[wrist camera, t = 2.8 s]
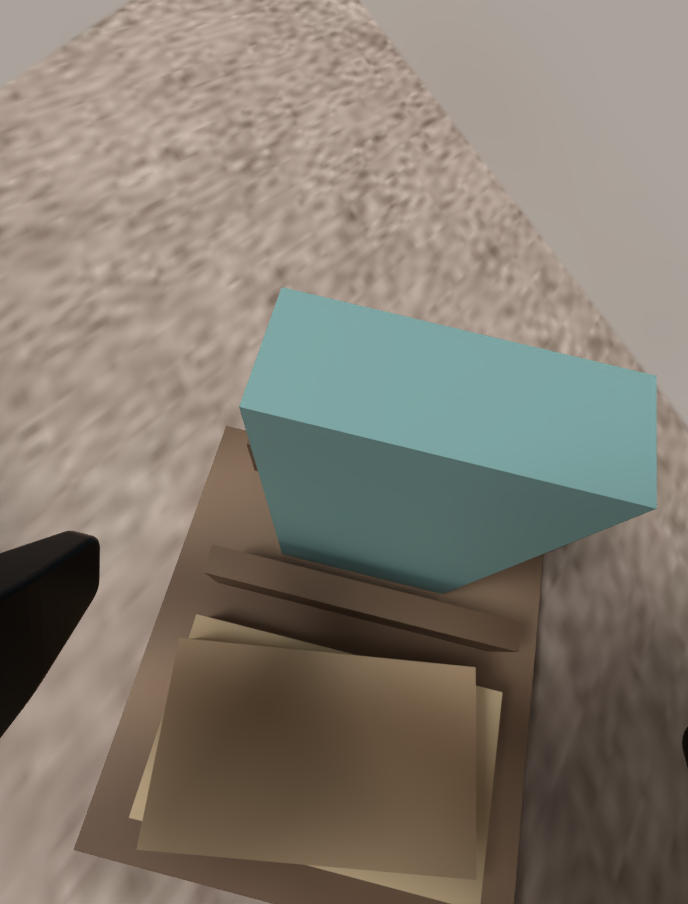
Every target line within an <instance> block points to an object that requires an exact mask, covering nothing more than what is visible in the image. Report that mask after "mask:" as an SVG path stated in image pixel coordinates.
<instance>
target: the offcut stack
mask: <svg viewBox="0 0 688 904" xmlns="http://www.w3.org/2000/svg"><path fill="white" fill-rule="evenodd" d="M502 693H503V692H499V691H495V690H491V689H487V688H484V687H480V686H476V667H468V666H460V665H450V664H440V663H430V662H420V661H410V660H400V659H390V658H380V657H370V656H360V655H354V654H350V653H347V652H343V651H339V650H335V649H331V648H327V647H323V646H319V645H315V644H311V643H307V642H303V641H300V640H296V639H292V638H288V637H284V636H280V635H276V634H272V633H268V632H264V631H260V630H256V629H253V628H249V627H245V626H241V625H237V624H233V623H229V622H225V621H221V620H217V619H213V618H210V617H206V616H202V615H198V614H196V617H195V620H194V623H193V626H192V629H191V632H190V635H189V638H179V642H178V647H177V652H176V657H175V662H174V667H173V672H172V677H171V681H170V686H169V691H168V696H167V701H166V706H165V710H164V713H163V716H162V719H161V722H160V725H159V728H158V731H157V734H156V737H155V740H154V743H153V746H152V749H151V752H150V755H149V758H148V761H147V764H146V767H145V770H144V773H143V776H142V779H141V782H140V785H139V788H138V791H137V794H136V797H135V800H134V803H133V806H132V809H131V812H130V815H129V818H132V819H136V820H139V821H142V825H141V830H140V835H139V840H138V845H137V850H145V851H156V852H167V853H178V854H190V855H201V856H212V857H223V858H235V859H246V860H257V861H268V862H280V863H291V864H302V865H308V866H311V867H315V868H319V869H323V870H326V871H330V872H334V873H338V874H341V875H345V876H349V877H353V878H356V879H360V880H364V881H368V882H371V883H375V884H379V885H383V886H386V887H390V888H394V889H398V890H401V891H405V892H409V893H412V894H416V895H420V896H424V897H427V898H431V899H435V900H439V901H442V902H446V903H450V904H480V903H481V894H482V884H483V875H484V865H485V856H486V846H487V836H488V827H489V817H490V808H491V798H492V789H493V779H494V769H495V760H496V750H497V741H498V731H499V721H500V712H501V702H502Z"/></svg>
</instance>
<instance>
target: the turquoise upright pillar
mask: <svg viewBox="0 0 688 904" xmlns="http://www.w3.org/2000/svg"><path fill="white" fill-rule="evenodd" d="M239 408H240V411H241V415H242V418H243V421H244V425H245V428H246V432H247V435H248V439H249V442H250V446H251V449H252V452H253V456H254V459H255V463H256V466H257V470H258V473H259V476H260V480H261V483H262V487H263V490H264V494H265V497H266V501H267V504H268V507H269V511H270V514H271V518H272V521H273V525H274V528H275V531H276V535H277V538H278V542H279V545H280V549H281V552H282V554H284V555H288V556H292V557H296V558H300V559H304V560H308V561H312V562H316V563H320V564H324V565H328V566H332V567H336V568H340V569H344V570H348V571H352V572H356V573H360V574H364V575H368V576H372V577H376V578H380V579H384V580H388V581H392V582H395V583H399V584H403V585H407V586H411V587H415V588H419V589H423V590H427V591H431V592H435V593H439V594H444V593H446V592H449V591H451V590H454V589H456V588H459V587H461V586H464V585H466V584H469V583H471V582H474V581H476V580H479V579H482V578H484V577H487V576H489V575H492V574H494V573H497V572H499V571H502V570H504V569H507V568H509V567H512V566H514V565H517V564H519V563H522V562H524V561H527V560H529V559H532V558H534V557H537V556H539V555H542V554H544V553H547V552H549V551H552V550H554V549H557V548H559V547H562V546H564V545H567V544H569V543H572V542H574V541H577V540H579V539H582V538H584V537H587V536H589V535H592V534H594V533H597V532H599V531H602V530H604V529H607V528H609V527H612V526H614V525H617V524H619V523H622V522H624V521H627V520H629V519H632V518H634V517H637V516H639V515H642V514H644V513H647V512H649V511H652V510H654V509H657V462H656V376H654V375H650V374H646V373H642V372H638V371H633V370H629V369H625V368H621V367H617V366H612V365H608V364H604V363H600V362H595V361H591V360H587V359H583V358H579V357H574V356H570V355H566V354H562V353H557V352H553V351H549V350H545V349H541V348H536V347H532V346H528V345H524V344H520V343H515V342H511V341H507V340H503V339H498V338H494V337H490V336H486V335H482V334H477V333H473V332H469V331H465V330H460V329H456V328H452V327H448V326H444V325H439V324H435V323H431V322H427V321H422V320H418V319H414V318H410V317H406V316H401V315H397V314H393V313H389V312H385V311H380V310H376V309H372V308H368V307H363V306H359V305H355V304H351V303H347V302H342V301H338V300H334V299H330V298H325V297H321V296H317V295H313V294H309V293H304V292H300V291H296V290H292V289H288V288H283V287H282V288H281V291H280V293H279V296H278V299H277V302H276V305H275V308H274V310H273V313H272V316H271V319H270V322H269V324H268V327H267V330H266V333H265V336H264V338H263V341H262V344H261V347H260V350H259V353H258V355H257V358H256V361H255V364H254V367H253V369H252V372H251V375H250V378H249V381H248V384H247V386H246V389H245V392H244V395H243V398H242V400H241V403H240V406H239Z"/></svg>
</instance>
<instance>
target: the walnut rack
mask: <svg viewBox="0 0 688 904" xmlns="http://www.w3.org/2000/svg"><path fill="white" fill-rule="evenodd" d="M542 565H543V554H542V555H539V556H537V557H534V558H532V559H529V560H527V561H524V562H522V563H519V564H517V565H514V566H512V567H509V568H507V569H504V570H502V571H499V572H497V573H494V574H492V575H489V576H487V577H484V578H482V579H479V580H476V581H474V582H471V583H469V584H466V585H464V586H461V587H459V588H456V589H454V590H451V591H449V592H446V593H444V594H439V593H435V592H431V591H427V590H423V589H419V588H415V587H411V586H407V585H403V584H399V583H395V582H392V581H388V580H384V579H380V578H376V577H372V576H368V575H364V574H360V573H356V572H352V571H348V570H344V569H340V568H336V567H332V566H328V565H324V564H320V563H316V562H312V561H308V560H304V559H300V558H296V557H292V556H288V555H284V554H282V552H281V549H280V545H279V542H278V538H277V535H276V531H275V528H274V525H273V521H272V518H271V514H270V511H269V507H268V504H267V501H266V497H265V494H264V490H263V487H262V483H261V480H260V476H259V473H258V470H257V466H256V463H255V459H254V456H253V452H252V449H251V446H250V442H249V439H248V435H247V432H246V431H245V430H241V429H237V428H233V427H229V426H226V428H225V431H224V434H223V437H222V440H221V442H220V445H219V448H218V451H217V453H216V456H215V459H214V462H213V465H212V467H211V470H210V473H209V476H208V478H207V481H206V484H205V487H204V490H203V492H202V495H201V498H200V501H199V503H198V506H197V509H196V512H195V514H194V517H193V520H192V523H191V526H190V528H189V531H188V534H187V537H186V539H185V542H184V545H183V548H182V551H181V553H180V556H179V559H178V562H177V564H176V567H175V570H174V573H173V576H172V578H171V581H170V584H169V587H168V589H167V592H166V595H165V598H164V601H163V603H162V606H161V609H160V612H159V614H158V617H157V620H156V623H155V626H154V628H153V631H152V634H151V637H150V639H149V642H148V645H147V648H146V650H145V653H144V656H143V659H142V662H141V664H140V667H139V670H138V673H137V675H136V678H135V681H134V684H133V687H132V689H131V692H130V695H129V698H128V700H127V703H126V706H125V709H124V712H123V714H122V717H121V720H120V723H119V725H118V728H117V731H116V734H115V737H114V739H113V742H112V745H111V748H110V750H109V753H108V756H107V759H106V762H105V764H104V767H103V770H102V773H101V775H100V778H99V781H98V784H97V786H96V789H95V792H94V795H93V798H92V800H91V803H90V806H89V809H88V811H87V814H86V817H85V820H84V823H83V825H82V828H81V831H80V834H79V836H78V839H77V842H76V845H75V848H74V850H76V851H80V852H83V853H87V854H91V855H95V856H98V857H102V858H106V859H109V860H113V861H117V862H120V863H124V864H128V865H132V866H135V867H139V868H143V869H146V870H150V871H154V872H158V873H161V874H165V875H169V876H172V877H176V878H180V879H184V880H187V881H191V882H195V883H198V884H202V885H206V886H209V887H213V888H217V889H221V890H224V891H228V892H232V893H235V894H239V895H243V896H247V897H250V898H254V899H258V900H261V901H265V902H269V903H272V904H450V903H446V902H442V901H439V900H435V899H431V898H427V897H424V896H420V895H416V894H412V893H409V892H405V891H401V890H398V889H394V888H390V887H386V886H383V885H379V884H375V883H371V882H368V881H364V880H360V879H356V878H353V877H349V876H345V875H341V874H338V873H334V872H330V871H326V870H323V869H319V868H315V867H311V866H308V865H302V864H291V863H280V862H268V861H257V860H246V859H235V858H223V857H212V856H201V855H190V854H178V853H167V852H156V851H145V850H137V845H138V840H139V835H140V830H141V825H142V821H139V820H136V819H132V818H129V815H130V812H131V809H132V806H133V803H134V800H135V797H136V794H137V791H138V788H139V785H140V782H141V779H142V776H143V773H144V770H145V767H146V764H147V761H148V758H149V755H150V752H151V749H152V746H153V743H154V740H155V737H156V734H157V731H158V728H159V725H160V722H161V719H162V716H163V713H164V710H165V706H166V701H167V696H168V691H169V686H170V681H171V677H172V672H173V667H174V662H175V657H176V652H177V647H178V642H179V638H189V635H190V632H191V629H192V626H193V623H194V620H195V617H196V614H198V615H202V616H206V617H210V618H213V619H217V620H221V621H225V622H229V623H233V624H237V625H241V626H245V627H249V628H253V629H256V630H260V631H264V632H268V633H272V634H276V635H280V636H284V637H288V638H292V639H296V640H300V641H303V642H307V643H311V644H315V645H319V646H323V647H327V648H331V649H335V650H339V651H343V652H347V653H350V654H354V655H360V656H370V657H380V658H390V659H400V660H410V661H420V662H430V663H440V664H450V665H460V666H468V667H476V686H480V687H484V688H487V689H491V690H495V691H499V692H503V693H502V702H501V712H500V721H499V731H498V741H497V750H496V760H495V769H494V779H493V789H492V798H491V808H490V817H489V827H488V836H487V846H486V856H485V865H484V875H483V884H482V894H481V903H480V904H514V897H515V886H516V874H517V862H518V850H519V838H520V826H521V814H522V803H523V791H524V779H525V767H526V755H527V743H528V731H529V719H530V708H531V696H532V684H533V672H534V660H535V648H536V636H537V625H538V613H539V601H540V589H541V577H542Z"/></svg>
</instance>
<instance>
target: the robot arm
mask: <svg viewBox="0 0 688 904" xmlns="http://www.w3.org/2000/svg"><path fill="white" fill-rule="evenodd" d="M99 570H100V545H99V541H98V539H97V538H96V537H94V536H91V535H88V534H84V533H80V532H76V531H66V532H62V533H59V534H56V535H53V536H50V537H47V538H44V539H41V540H38V541H35V542H32V543H29V544H26V545H23V546H21V547H18V548H15V549H12V550H9V551H6V552H3V553H0V738H1V737H2V735H3V734H4V733H5V731H6V730H7V729H8V727H9V726H10V725H11V723H12V722H13V721H14V720H15V718H16V717H17V716H18V714H19V713H20V712H21V710H22V709H23V708H24V706H25V705H26V704H27V702H28V701H29V700H30V698H31V697H32V695H33V694H34V693H35V691H36V690H37V688H38V687H39V685H40V683H41V682H42V680H43V679H44V677H45V676H46V674H47V673H48V671H49V669H50V668H51V666H52V665H53V663H54V661H55V660H56V658H57V657H58V655H59V653H60V652H61V650H62V648H63V647H64V645H65V644H66V642H67V640H68V639H69V637H70V636H71V634H72V632H73V631H74V629H75V628H76V626H77V624H78V623H79V621H80V620H81V618H82V616H83V615H84V613H85V611H86V610H87V608H88V607H89V605H90V603H91V602H92V600H93V598H94V597H95V595H96V592H97V589H98V586H99ZM682 748H683V753H684V756H685V760H686V763H687V767H688V727H687V728H686V730H685V731H684V734H683V739H682Z"/></svg>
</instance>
